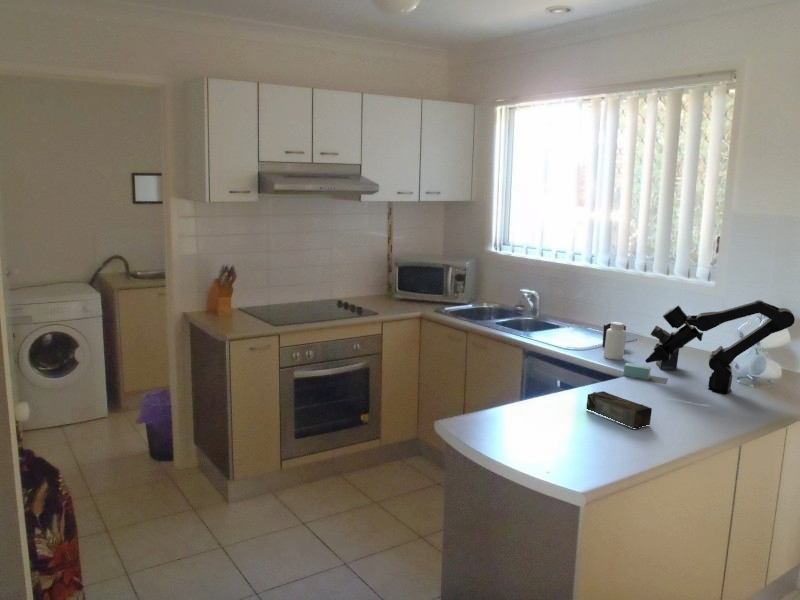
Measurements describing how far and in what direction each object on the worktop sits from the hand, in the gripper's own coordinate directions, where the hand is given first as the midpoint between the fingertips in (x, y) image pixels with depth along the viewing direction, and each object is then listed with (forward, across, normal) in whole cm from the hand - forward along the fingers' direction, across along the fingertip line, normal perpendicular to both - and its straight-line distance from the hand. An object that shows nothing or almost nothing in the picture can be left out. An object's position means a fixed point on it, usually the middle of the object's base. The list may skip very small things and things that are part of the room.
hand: (646, 361), depth 250 cm
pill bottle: (+16, -23, -6) cm, 29 cm away
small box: (+1, -21, +9) cm, 22 cm away
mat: (+3, 0, +6) cm, 7 cm away
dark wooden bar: (+6, +50, +4) cm, 50 cm away
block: (+2, 0, +4) cm, 5 cm away
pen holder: (+18, -41, -9) cm, 46 cm away
